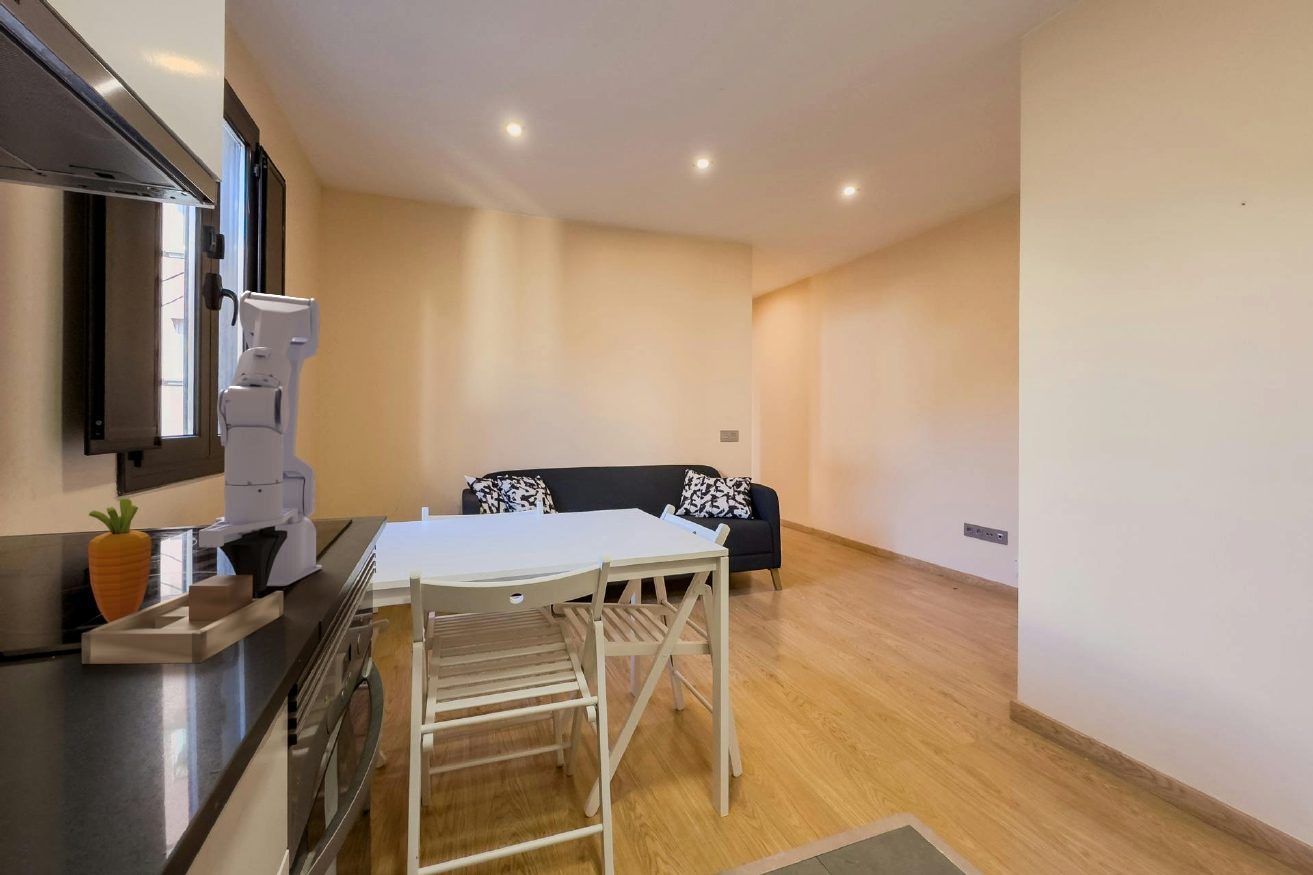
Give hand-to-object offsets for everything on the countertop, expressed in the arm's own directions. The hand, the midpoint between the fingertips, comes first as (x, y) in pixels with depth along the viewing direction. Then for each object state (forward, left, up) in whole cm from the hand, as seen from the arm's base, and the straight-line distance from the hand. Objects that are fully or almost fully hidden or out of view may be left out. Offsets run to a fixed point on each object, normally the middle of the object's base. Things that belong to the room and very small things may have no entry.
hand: (253, 590), depth 64 cm
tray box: (+6, -2, -3) cm, 7 cm away
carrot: (+5, -11, -3) cm, 12 cm away
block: (+5, 0, -1) cm, 5 cm away
